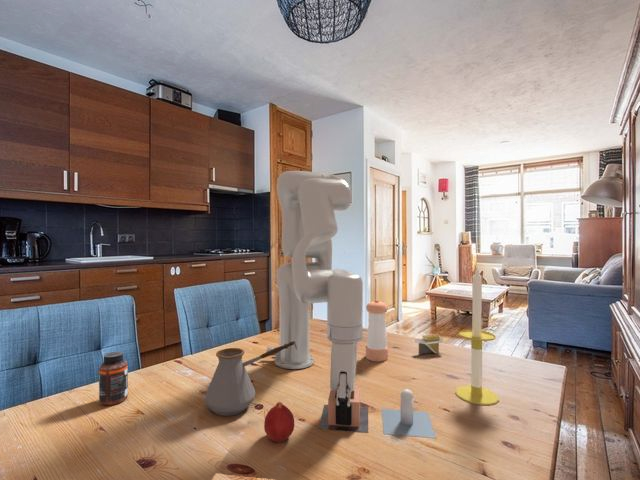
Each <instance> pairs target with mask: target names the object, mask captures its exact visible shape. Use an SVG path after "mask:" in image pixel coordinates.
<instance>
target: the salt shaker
mask: <svg viewBox="0 0 640 480" xmlns="http://www.w3.org/2000/svg"><path fill="white" fill-rule="evenodd" d="M365 308H366V311H367V312H368V325H367V332H366V345H365V358H366V359H367V360H369V361H371V362H386V361H387V360H388V359H389V347H388V346H387V345H388V334H387V328H386V327H387V326H386V313H387V312H388V310H389V309H388V305H387V304H386V303H385V302H384V301H380V300H379V299H374V301H370V302H368V303H367V304H366V307H365Z"/></svg>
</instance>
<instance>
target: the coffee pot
mask: <svg viewBox="0 0 640 480" xmlns="http://www.w3.org/2000/svg"><path fill="white" fill-rule="evenodd" d="M292 345H295V348H296V349H297V346H296V343H295V341H293V342H290V343H288V344H284V346H280V347H279V346H276V347H273V348H274V349H272V350H270V351H268V352H267V351H266V352H264V353H263V354H260V355H258V356H256V357H253V358H251V359H249V360H245V361H244V362H243V360H242V359H243V357H244V354H245V350H244V349H242V348H239V347H229V348H228V347H227V348H224V349H220V350H218V351H217V352H216V353H215V356H216V357H217V359H218V364H217V367H216V368H215V370H214V373H213V376H212V379H211V380H210V383H209V386H208V387H207V390H206V392H205V394H204V402H205V405H206V406H207V407H208V408H209V409H210V410H211V411H213V413H214V414H216V415H219V416H225V417H226V416H227V417H228V416H234V415H237V414H241V413H242V412H243V411H245V410H246V409H247V408H248V407H249V406H250V405H251V404H252V402H253V401H254V399H255V396H256V389H255V387H254V385H253V382H252V380H251V378H250V376H249V373H248V371H247V369H246V367H247V366H249V365H251V364H254V363H256V362H258V361H259V360H261V359H265V358H268V357H271V355H273V354H276V353H278V352H280V351H281V350H283V349H287V348H288V347H289V346H292Z"/></svg>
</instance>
